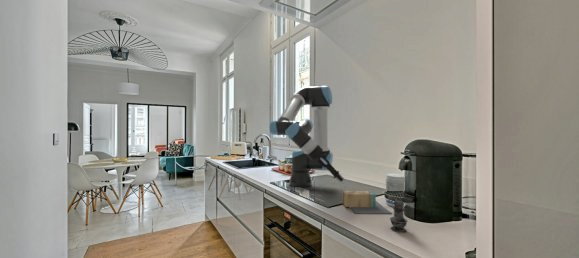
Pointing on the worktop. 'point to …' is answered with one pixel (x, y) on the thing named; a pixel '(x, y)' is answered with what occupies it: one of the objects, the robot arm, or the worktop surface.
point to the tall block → (359, 199)
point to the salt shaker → (398, 217)
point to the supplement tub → (394, 185)
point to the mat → (371, 210)
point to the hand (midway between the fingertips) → (346, 184)
